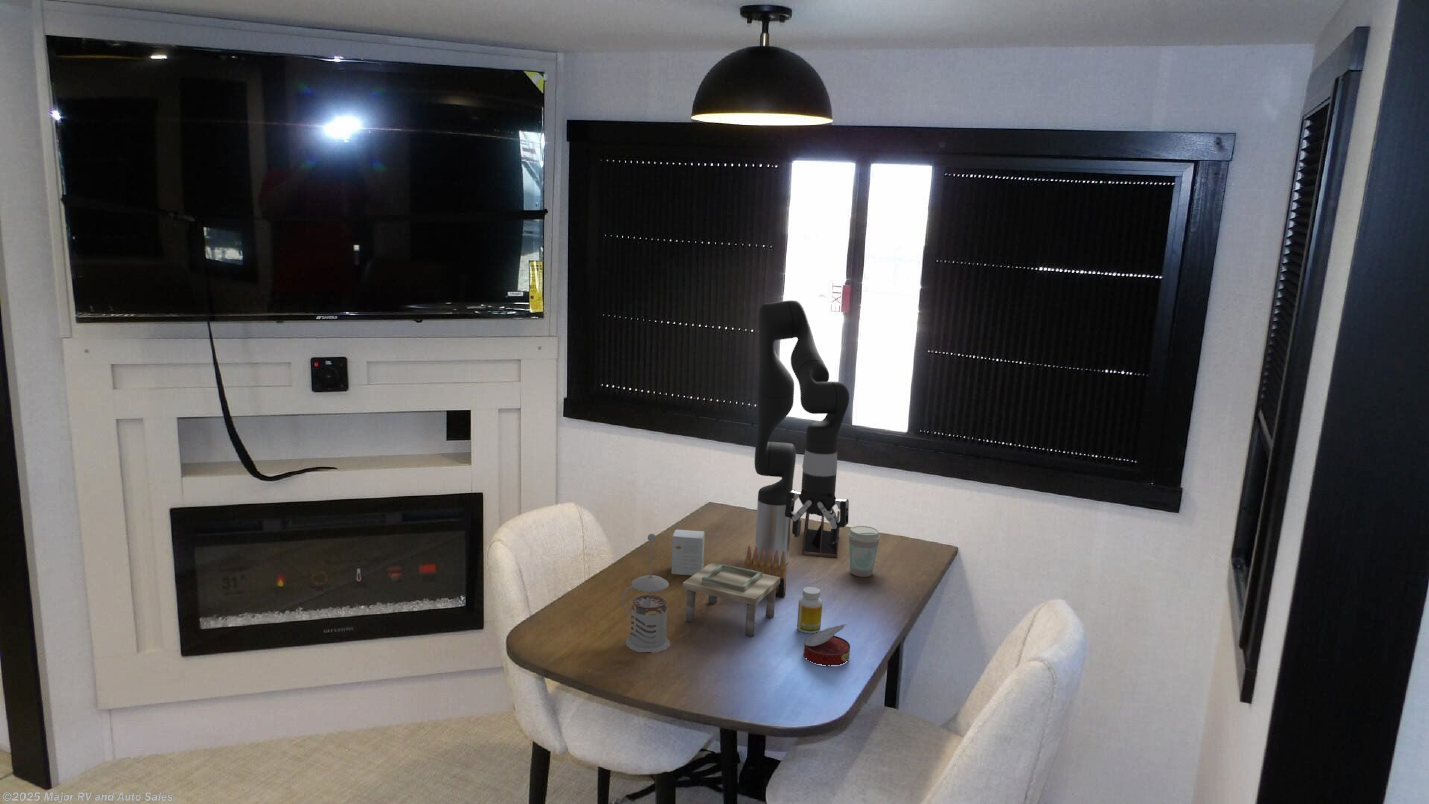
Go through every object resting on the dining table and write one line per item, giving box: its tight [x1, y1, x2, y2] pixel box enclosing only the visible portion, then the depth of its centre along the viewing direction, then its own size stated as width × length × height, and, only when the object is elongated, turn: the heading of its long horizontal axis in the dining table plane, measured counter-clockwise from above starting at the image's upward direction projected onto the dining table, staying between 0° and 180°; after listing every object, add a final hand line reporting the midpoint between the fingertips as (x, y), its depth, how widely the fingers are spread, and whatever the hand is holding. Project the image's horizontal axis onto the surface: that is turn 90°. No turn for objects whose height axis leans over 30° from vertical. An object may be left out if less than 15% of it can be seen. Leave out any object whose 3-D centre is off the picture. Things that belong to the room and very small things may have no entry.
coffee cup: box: [847, 525, 881, 578], centre depth 257 cm, size 8×8×12 cm
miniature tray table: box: [682, 562, 780, 638], centre depth 224 cm, size 15×18×11 cm
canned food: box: [803, 623, 851, 666], centre depth 208 cm, size 11×10×10 cm
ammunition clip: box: [744, 545, 787, 599], centre depth 240 cm, size 11×2×12 cm, turn 72°
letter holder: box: [801, 510, 840, 559], centre depth 277 cm, size 10×20×14 cm, turn 172°
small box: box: [671, 529, 705, 576], centre depth 252 cm, size 8×6×10 cm
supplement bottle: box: [796, 586, 823, 635], centre depth 220 cm, size 5×5×10 cm
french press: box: [621, 533, 671, 653], centre depth 209 cm, size 10×12×25 cm
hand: (814, 539), depth 217 cm, fingers open, 8 cm apart
